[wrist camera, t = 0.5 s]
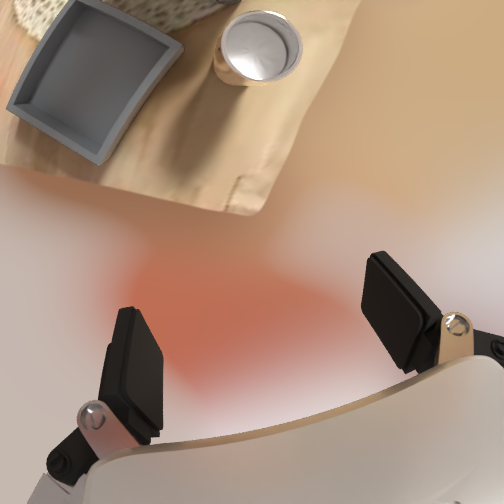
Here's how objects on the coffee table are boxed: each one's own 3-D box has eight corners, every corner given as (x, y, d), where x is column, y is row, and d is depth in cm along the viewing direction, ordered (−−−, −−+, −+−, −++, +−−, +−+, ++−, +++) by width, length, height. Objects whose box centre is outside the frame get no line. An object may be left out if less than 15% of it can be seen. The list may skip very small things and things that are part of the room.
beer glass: (226, 98, 33) (245, 99, 20) (199, 55, 29) (201, 29, 16) (273, 74, 32) (319, 65, 19) (248, 31, 28) (280, -3, 16)
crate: (88, 1, 21) (76, -9, 17) (184, 51, 28) (182, 44, 24) (24, 105, 26) (5, 109, 22) (110, 157, 34) (99, 166, 29)
